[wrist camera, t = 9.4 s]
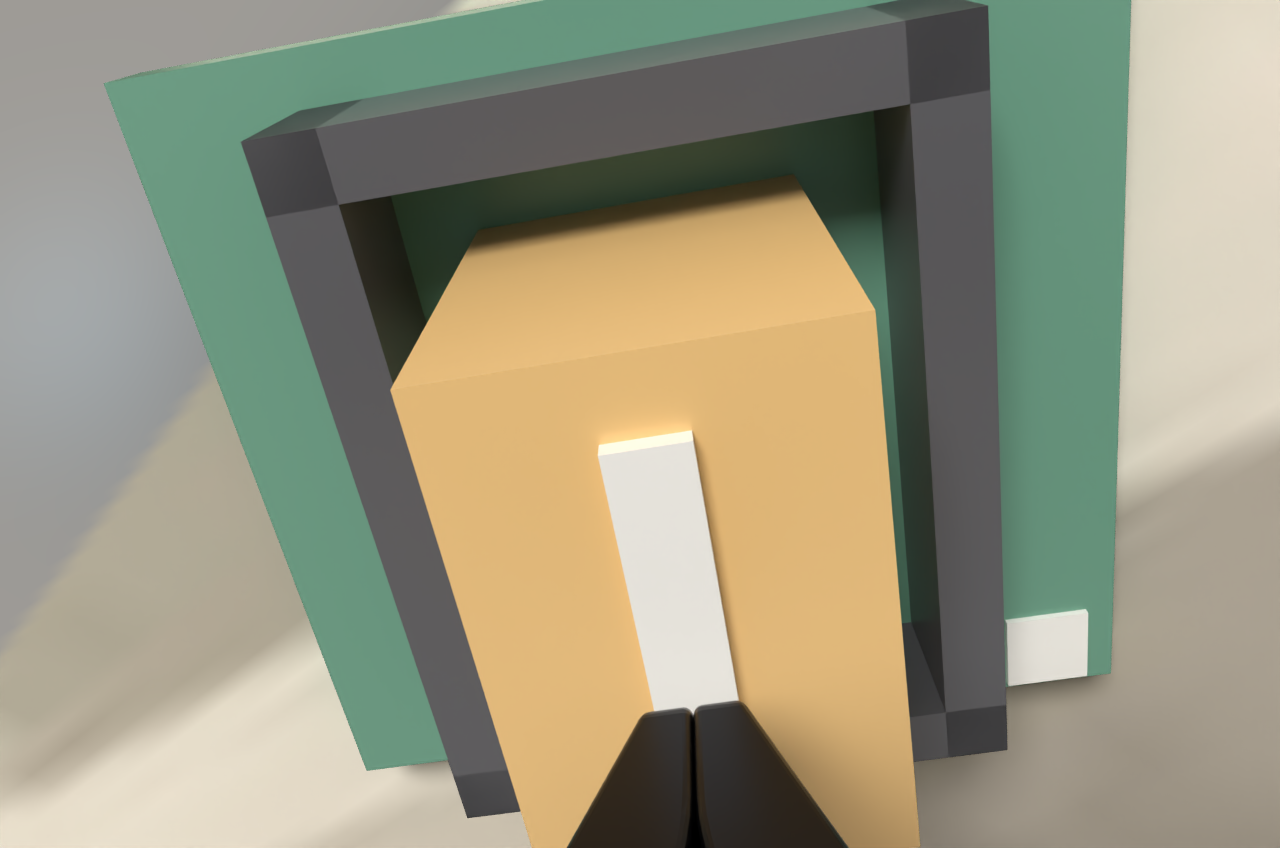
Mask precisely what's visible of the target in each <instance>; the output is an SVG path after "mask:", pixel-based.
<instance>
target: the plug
mask: <svg viewBox="0 0 1280 848" xmlns="http://www.w3.org/2000/svg"><path fill="white" fill-rule="evenodd" d="M390 391H391V394H392V397H393V401H394V404H395V407H396V410H397V413H398V417H399V420H400V423H401V426H402V430H403V433H404V436H405V439H406V442H407V446H408V449H409V452H410V455H411V459H412V462H413V465H414V468H415V472H416V475H417V478H418V481H419V484H420V488H421V491H422V494H423V497H424V501H425V504H426V507H427V510H428V513H429V517H430V520H431V523H432V526H433V530H434V533H435V536H436V539H437V542H438V546H439V549H440V552H441V555H442V559H443V562H444V565H445V568H446V572H447V575H448V578H449V581H450V584H451V588H452V591H453V594H454V597H455V601H456V604H457V607H458V610H459V613H460V617H461V620H462V623H463V626H464V630H465V633H466V636H467V639H468V643H469V646H470V649H471V652H472V655H473V659H474V662H475V665H476V668H477V672H478V675H479V678H480V681H481V684H482V688H483V691H484V694H485V697H486V701H487V704H488V707H489V710H490V713H491V717H492V720H493V723H494V726H495V730H496V733H497V736H498V739H499V743H500V746H501V749H502V752H503V755H504V759H505V762H506V765H507V768H508V772H509V775H510V778H511V781H512V784H513V788H514V791H515V794H516V797H517V801H518V804H519V807H520V810H521V814H522V817H523V820H524V823H525V826H526V830H527V833H528V836H529V839H530V843H531V846H532V848H567V846H568V845H569V843H570V841H571V839H572V837H573V836H574V834H575V832H576V830H577V829H578V827H579V825H580V823H581V821H582V820H583V818H584V816H585V814H586V813H587V811H588V809H589V807H590V805H591V804H592V802H593V800H594V798H595V797H596V795H597V793H598V791H599V789H600V788H601V786H602V784H603V782H604V781H605V779H606V777H607V775H608V773H609V772H610V770H611V768H612V766H613V765H614V763H615V761H616V759H617V757H618V756H619V754H620V752H621V750H622V749H623V747H624V745H625V743H626V741H627V740H628V738H629V736H630V734H631V733H632V731H633V729H634V727H635V725H636V724H637V722H638V720H639V719H640V717H641V716H642V715H643V714H645V713H647V712H651V711H659V710H667V709H674V708H682V707H685V708H688V709H690V710H691V712H692V713H693V715H694V711H695V709H696V708H697V707H698V706H700V705H704V704H712V703H720V702H727V701H735V700H737V701H741V702H743V703H744V704H745V705H746V706H747V707H748V708H749V709H750V711H751V712H752V714H753V715H754V716H755V718H756V719H757V721H758V722H759V723H760V725H761V726H762V727H763V729H764V730H765V732H766V733H767V734H768V736H769V737H770V739H771V740H772V741H773V743H774V744H775V746H776V747H777V748H778V750H779V751H780V753H781V754H782V755H783V757H784V758H785V760H786V761H787V762H788V764H789V765H790V766H791V768H792V769H793V771H794V772H795V773H796V775H797V776H798V778H799V779H800V780H801V782H802V783H803V785H804V786H805V787H806V789H807V790H808V792H809V793H810V794H811V796H812V797H813V798H814V800H815V801H816V803H817V804H818V805H819V807H820V808H821V810H822V811H823V812H824V814H825V815H826V817H827V818H828V819H829V821H830V822H831V824H832V825H833V826H834V828H835V829H836V831H837V832H838V833H839V835H840V836H841V837H842V839H843V840H844V842H845V843H846V844H847V846H848V847H849V848H915V847H920V836H919V824H918V812H917V800H916V788H915V776H914V765H913V753H912V741H911V729H910V717H909V705H908V693H907V681H906V669H905V657H904V645H903V633H902V622H901V610H900V598H899V586H898V574H897V562H896V550H895V538H894V526H893V514H892V502H891V491H890V479H889V467H888V455H887V443H886V431H885V419H884V407H883V395H882V383H881V371H880V359H879V348H878V336H877V324H876V312H875V309H874V307H873V305H872V304H871V302H870V300H869V299H868V297H867V295H866V294H865V292H864V290H863V289H862V287H861V285H860V284H859V282H858V280H857V279H856V277H855V275H854V274H853V272H852V270H851V269H850V267H849V265H848V264H847V262H846V260H845V259H844V257H843V255H842V254H841V252H840V250H839V249H838V247H837V245H836V244H835V242H834V240H833V239H832V237H831V235H830V234H829V232H828V230H827V229H826V227H825V225H824V224H823V222H822V220H821V219H820V217H819V215H818V214H817V212H816V211H815V209H814V207H813V206H812V204H811V202H810V201H809V199H808V197H807V196H806V194H805V192H804V191H803V189H802V187H801V186H800V184H799V182H798V181H797V179H796V177H795V176H794V174H792V175H786V176H781V177H775V178H769V179H764V180H758V181H753V182H747V183H741V184H736V185H730V186H724V187H719V188H713V189H707V190H702V191H696V192H690V193H685V194H679V195H673V196H668V197H662V198H656V199H651V200H645V201H639V202H634V203H628V204H622V205H617V206H611V207H605V208H600V209H594V210H588V211H583V212H577V213H571V214H566V215H560V216H554V217H549V218H543V219H537V220H532V221H526V222H520V223H515V224H509V225H503V226H498V227H492V228H486V229H481V230H478V231H477V233H476V235H475V237H474V239H473V240H472V242H471V244H470V246H469V248H468V250H467V251H466V253H465V255H464V257H463V259H462V260H461V262H460V264H459V266H458V268H457V270H456V271H455V273H454V275H453V277H452V279H451V280H450V282H449V284H448V286H447V288H446V290H445V291H444V293H443V295H442V297H441V299H440V300H439V302H438V304H437V306H436V308H435V310H434V311H433V313H432V315H431V317H430V319H429V320H428V322H427V324H426V326H425V328H424V330H423V331H422V333H421V335H420V337H419V339H418V340H417V342H416V344H415V346H414V348H413V350H412V351H411V353H410V355H409V357H408V359H407V360H406V362H405V364H404V366H403V368H402V370H401V371H400V373H399V375H398V377H397V379H396V380H395V382H394V384H393V386H392V388H391V390H390Z"/></svg>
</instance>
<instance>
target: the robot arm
mask: <svg viewBox="0 0 1280 848" xmlns="http://www.w3.org/2000/svg"><path fill="white" fill-rule="evenodd" d="M567 848H849V847H848V846H847V844H846V843H845V842H844V840H843V839H842V837H841V836H840V835H839V833H838V832H837V831H836V829H835V828H834V826H833V825H832V824H831V822H830V821H829V819H828V818H827V817H826V815H825V814H824V812H823V811H822V810H821V808H820V807H819V805H818V804H817V803H816V801H815V800H814V798H813V797H812V796H811V794H810V793H809V792H808V790H807V789H806V787H805V786H804V785H803V783H802V782H801V780H800V779H799V778H798V776H797V775H796V773H795V772H794V771H793V769H792V768H791V766H790V765H789V764H788V762H787V761H786V760H785V758H784V757H783V755H782V754H781V753H780V751H779V750H778V748H777V747H776V746H775V744H774V743H773V741H772V740H771V739H770V737H769V736H768V734H767V733H766V732H765V730H764V729H763V727H762V726H761V725H760V723H759V722H758V721H757V719H756V718H755V716H754V715H753V714H752V712H751V711H750V709H749V708H748V707H747V706H746V705H745V704H744V703H743V702H741V701H737V700H735V701H727V702H720V703H712V704H704V705H700V706H698V707H697V708H696V709H695V711H694V715H693V713H692V712H691V710H690V709H688V708H685V707H682V708H674V709H667V710H659V711H651V712H647V713H645V714H643V715H642V716H641V717H640V719H639V720H638V722H637V724H636V725H635V727H634V729H633V731H632V733H631V734H630V736H629V738H628V740H627V741H626V743H625V745H624V747H623V749H622V750H621V752H620V754H619V756H618V757H617V759H616V761H615V763H614V765H613V766H612V768H611V770H610V772H609V773H608V775H607V777H606V779H605V781H604V782H603V784H602V786H601V788H600V789H599V791H598V793H597V795H596V797H595V798H594V800H593V802H592V804H591V805H590V807H589V809H588V811H587V813H586V814H585V816H584V818H583V820H582V821H581V823H580V825H579V827H578V829H577V830H576V832H575V834H574V836H573V837H572V839H571V841H570V843H569V845H568V846H567Z"/></svg>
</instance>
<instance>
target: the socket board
mask: <svg viewBox="0 0 1280 848" xmlns="http://www.w3.org/2000/svg"><path fill="white" fill-rule="evenodd" d="M1130 17H1131V0H522V1H517V2H511V3H506V4H501V5H496V6H490V7H485V8H480V9H474V10H469V11H464V12H459V13H453V14H448V15H443V16H438V17H432V18H427V19H422V20H417V21H411V22H406V23H401V24H395V25H390V26H385V27H379V28H375V29H369V30H364V31H359V32H353V33H348V34H343V35H337V36H332V37H327V38H321V39H316V40H311V41H306V42H300V43H296V44H290V45H285V46H280V47H275V48H269V49H264V50H258V51H253V52H247V53H243V54H237V55H232V56H227V57H221V58H216V59H211V60H205V61H200V62H195V63H190V64H184V65H179V66H174V67H169V68H163V69H158V70H152V71H147V72H142V73H138V74H135V75H131V76H128V77H124V78H121V79H117V80H114V81H110V82H107V83H104V86H105V88H106V90H107V93H108V96H109V99H110V101H111V104H112V106H113V109H114V112H115V114H116V117H117V119H118V122H119V125H120V127H121V130H122V133H123V135H124V138H125V140H126V143H127V146H128V148H129V151H130V153H131V156H132V159H133V161H134V164H135V167H136V169H137V172H138V174H139V177H140V179H141V182H142V185H143V187H144V190H145V193H146V195H147V198H148V200H149V203H150V206H151V208H152V211H153V214H154V216H155V219H156V221H157V224H158V227H159V229H160V232H161V234H162V237H163V239H164V242H165V245H166V247H167V250H168V253H169V255H170V258H171V261H172V263H173V265H174V268H175V271H176V273H177V276H178V279H179V281H180V284H181V287H182V289H183V292H184V295H185V297H186V300H187V302H188V305H189V307H190V310H191V313H192V315H193V318H194V320H195V323H196V326H197V328H198V331H199V334H200V336H201V339H202V341H203V344H204V347H205V349H206V352H207V355H208V357H209V360H210V362H211V365H212V368H213V370H214V373H215V376H216V378H217V381H218V383H219V386H220V389H221V391H222V394H223V396H224V399H225V402H226V404H227V407H228V409H229V412H230V415H231V417H232V420H233V423H234V425H235V428H236V430H237V433H238V436H239V438H240V441H241V443H242V446H243V449H244V451H245V454H246V457H247V459H248V462H249V464H250V467H251V470H252V472H253V475H254V477H255V480H256V483H257V485H258V488H259V490H260V493H261V496H262V498H263V501H264V504H265V506H266V509H267V511H268V514H269V517H270V519H271V522H272V524H273V527H274V530H275V532H276V535H277V538H278V540H279V543H280V545H281V548H282V551H283V553H284V556H285V558H286V561H287V564H288V566H289V569H290V571H291V574H292V577H293V579H294V582H295V585H296V587H297V590H298V592H299V595H300V598H301V600H302V603H303V605H304V608H305V611H306V613H307V616H308V618H309V621H310V624H311V626H312V629H313V632H314V634H315V637H316V639H317V642H318V645H319V647H320V650H321V652H322V655H323V658H324V660H325V663H326V666H327V668H328V671H329V673H330V676H331V679H332V681H333V684H334V686H335V689H336V692H337V694H338V697H339V699H340V702H341V705H342V707H343V710H344V713H345V715H346V718H347V720H348V723H349V726H350V728H351V731H352V733H353V736H354V739H355V741H356V744H357V747H358V749H359V752H360V754H361V757H362V760H363V762H364V765H365V767H366V770H367V771H369V770H376V769H384V768H392V767H399V766H407V765H414V764H422V763H430V762H437V761H445V760H448V762H449V765H450V767H451V770H452V773H453V776H454V779H455V782H456V785H457V788H458V791H459V794H460V797H461V800H462V803H463V806H464V809H465V812H466V815H467V818H473V817H480V816H488V815H496V814H504V813H512V812H520V811H521V810H520V807H519V804H518V801H517V797H516V794H515V791H514V788H513V784H512V781H511V778H510V775H509V772H508V768H507V765H506V762H505V759H504V755H503V752H502V749H501V746H500V743H499V739H498V736H497V733H496V730H495V726H494V723H493V720H492V717H491V713H490V710H489V707H488V704H487V701H486V697H485V694H484V691H483V688H482V684H481V681H480V678H479V675H478V672H477V668H476V665H475V662H474V659H473V655H472V652H471V649H470V646H469V643H468V639H467V636H466V633H465V630H464V626H463V623H462V620H461V617H460V613H459V610H458V607H457V604H456V601H455V597H454V594H453V591H452V588H451V584H450V581H449V578H448V575H447V572H446V568H445V565H444V562H443V559H442V555H441V552H440V549H439V546H438V542H437V539H436V536H435V533H434V530H433V526H432V523H431V520H430V517H429V513H428V510H427V507H426V504H425V501H424V497H423V494H422V491H421V488H420V484H419V481H418V478H417V475H416V472H415V468H414V465H413V462H412V459H411V455H410V452H409V449H408V446H407V442H406V439H405V436H404V433H403V430H402V426H401V423H400V420H399V417H398V413H397V410H396V407H395V404H394V401H393V397H392V394H391V391H390V390H391V388H392V386H393V384H394V382H395V380H396V379H397V377H398V375H399V373H400V371H401V370H402V368H403V366H404V364H405V362H406V360H407V359H408V357H409V355H410V353H411V351H412V350H413V348H414V346H415V344H416V342H417V340H418V339H419V337H420V335H421V333H422V331H423V330H424V328H425V326H426V324H427V322H428V320H429V319H430V317H431V315H432V313H433V311H434V310H435V308H436V306H437V304H438V302H439V300H440V299H441V297H442V295H443V293H444V291H445V290H446V288H447V286H448V284H449V282H450V280H451V279H452V277H453V275H454V273H455V271H456V270H457V268H458V266H459V264H460V262H461V260H462V259H463V257H464V255H465V253H466V251H467V250H468V248H469V246H470V244H471V242H472V240H473V239H474V237H475V235H476V233H477V231H478V230H481V229H486V228H492V227H498V226H503V225H509V224H515V223H520V222H526V221H532V220H537V219H543V218H549V217H554V216H560V215H566V214H571V213H577V212H583V211H588V210H594V209H600V208H605V207H611V206H617V205H622V204H628V203H634V202H639V201H645V200H651V199H656V198H662V197H668V196H673V195H679V194H685V193H690V192H696V191H702V190H707V189H713V188H719V187H724V186H730V185H736V184H741V183H747V182H753V181H758V180H764V179H769V178H775V177H781V176H786V175H792V174H794V176H795V177H796V179H797V181H798V182H799V184H800V186H801V187H802V189H803V191H804V192H805V194H806V196H807V197H808V199H809V201H810V202H811V204H812V206H813V207H814V209H815V211H816V212H817V214H818V215H819V217H820V219H821V220H822V222H823V224H824V225H825V227H826V229H827V230H828V232H829V234H830V235H831V237H832V239H833V240H834V242H835V244H836V245H837V247H838V249H839V250H840V252H841V254H842V255H843V257H844V259H845V260H846V262H847V264H848V265H849V267H850V269H851V270H852V272H853V274H854V275H855V277H856V279H857V280H858V282H859V284H860V285H861V287H862V289H863V290H864V292H865V294H866V295H867V297H868V299H869V300H870V302H871V304H872V305H873V307H874V309H875V312H876V324H877V336H878V348H879V359H880V371H881V383H882V395H883V407H884V419H885V431H886V443H887V455H888V467H889V479H890V491H891V502H892V514H893V526H894V538H895V550H896V562H897V574H898V586H899V598H900V610H901V622H902V633H903V645H904V657H905V669H906V681H907V693H908V705H909V717H910V729H911V741H912V753H913V762H916V761H924V760H932V759H940V758H948V757H956V756H963V755H971V754H979V753H987V752H995V751H1003V750H1007V716H1006V687H1010V686H1017V685H1025V684H1033V683H1040V682H1048V681H1056V680H1063V679H1071V678H1078V677H1086V676H1094V675H1101V674H1109V673H1111V650H1112V617H1113V584H1114V550H1115V517H1116V484H1117V451H1118V417H1119V384H1120V351H1121V317H1122V284H1123V251H1124V217H1125V184H1126V151H1127V117H1128V84H1129V51H1130Z"/></svg>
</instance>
